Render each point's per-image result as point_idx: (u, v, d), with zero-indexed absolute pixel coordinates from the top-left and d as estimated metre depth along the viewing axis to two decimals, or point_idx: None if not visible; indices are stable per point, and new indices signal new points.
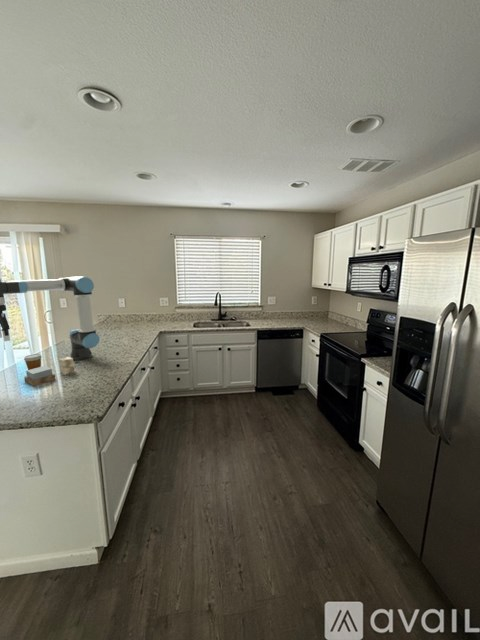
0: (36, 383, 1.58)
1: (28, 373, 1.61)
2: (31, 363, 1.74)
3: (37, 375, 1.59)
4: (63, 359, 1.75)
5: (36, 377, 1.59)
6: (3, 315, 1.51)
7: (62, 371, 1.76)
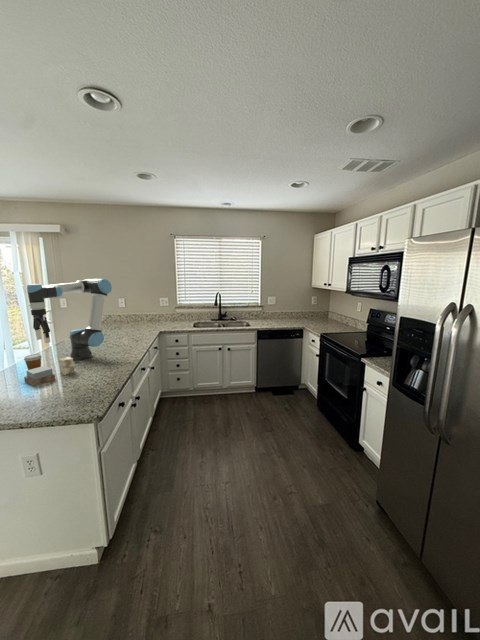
0: (36, 383, 1.58)
1: (28, 373, 1.61)
2: (31, 363, 1.74)
3: (38, 375, 1.60)
4: (63, 359, 1.75)
5: (37, 377, 1.59)
6: (44, 319, 1.62)
7: (62, 371, 1.76)
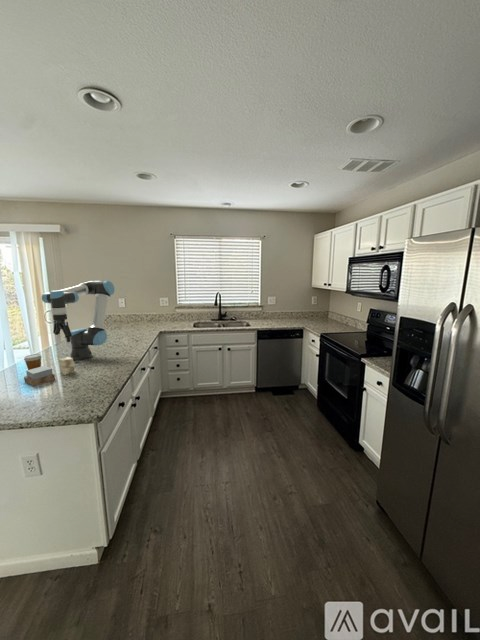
0: (35, 382, 1.58)
1: (28, 373, 1.61)
2: (31, 363, 1.74)
3: (38, 375, 1.60)
4: (63, 359, 1.75)
5: (37, 377, 1.59)
6: (66, 323, 1.69)
7: (62, 371, 1.76)
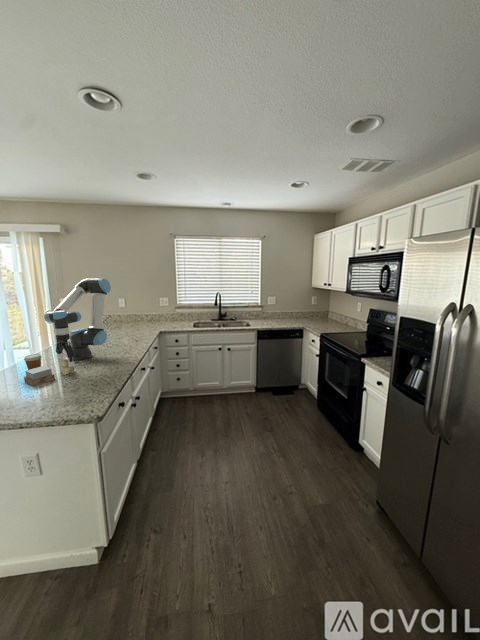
0: (35, 383, 1.58)
1: (27, 373, 1.61)
2: (31, 363, 1.74)
3: (37, 375, 1.59)
4: (63, 359, 1.75)
5: (36, 377, 1.59)
6: (69, 344, 1.71)
7: (62, 371, 1.76)
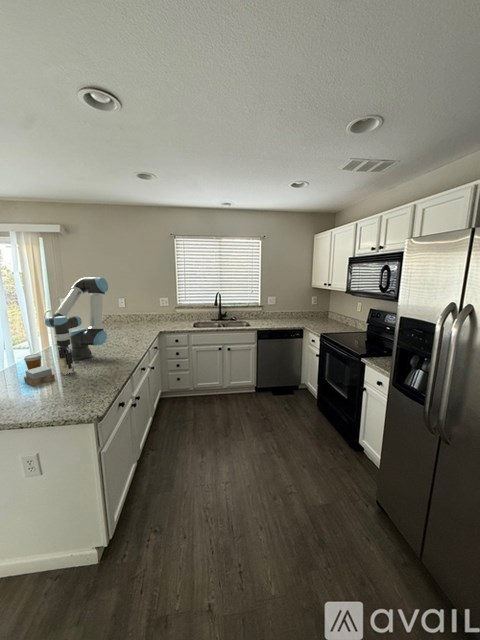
0: (35, 383, 1.58)
1: (27, 373, 1.61)
2: (31, 363, 1.74)
3: (37, 375, 1.60)
4: (63, 359, 1.75)
5: (36, 377, 1.59)
6: (69, 351, 1.72)
7: (62, 371, 1.76)
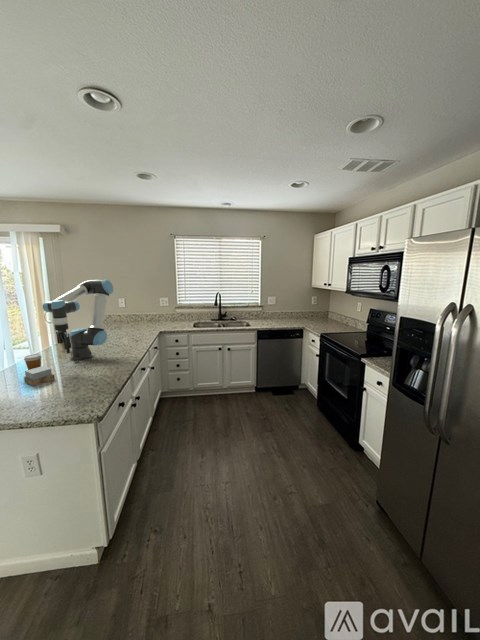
0: (35, 383, 1.58)
1: (27, 373, 1.60)
2: (31, 363, 1.74)
3: (37, 375, 1.59)
4: (61, 344, 1.73)
5: (36, 377, 1.59)
6: (68, 335, 1.71)
7: (60, 356, 1.74)
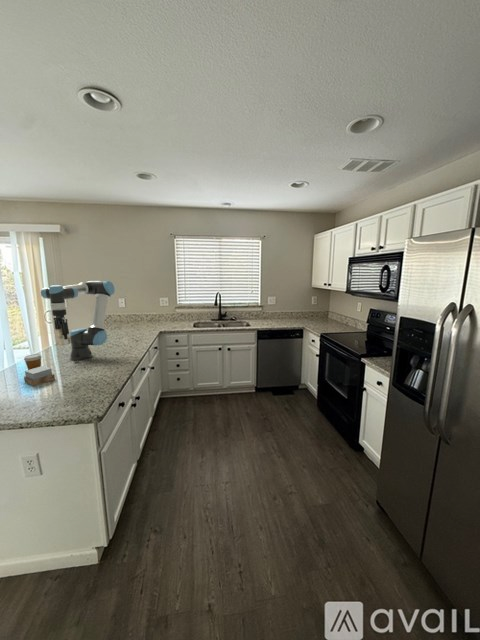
0: (35, 382, 1.58)
1: (27, 373, 1.60)
2: (31, 363, 1.74)
3: (37, 375, 1.59)
4: (59, 329, 1.71)
5: (36, 377, 1.59)
6: (65, 321, 1.69)
7: (58, 342, 1.72)
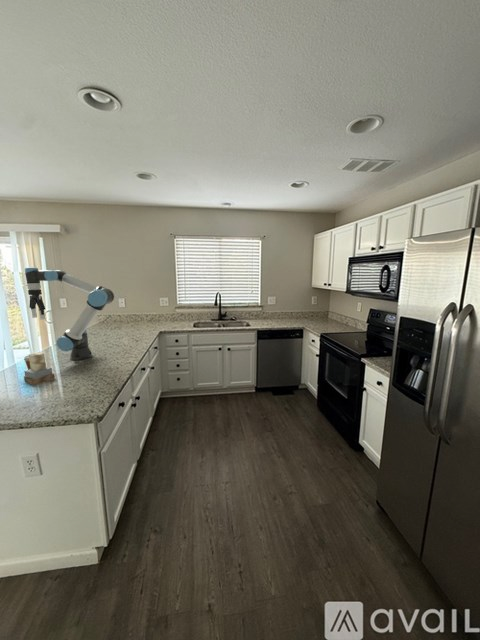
0: (35, 382, 1.59)
1: (27, 373, 1.61)
2: None
3: (39, 374, 1.61)
4: (33, 354, 1.62)
5: (38, 376, 1.60)
6: (40, 298, 1.84)
7: (32, 367, 1.62)
